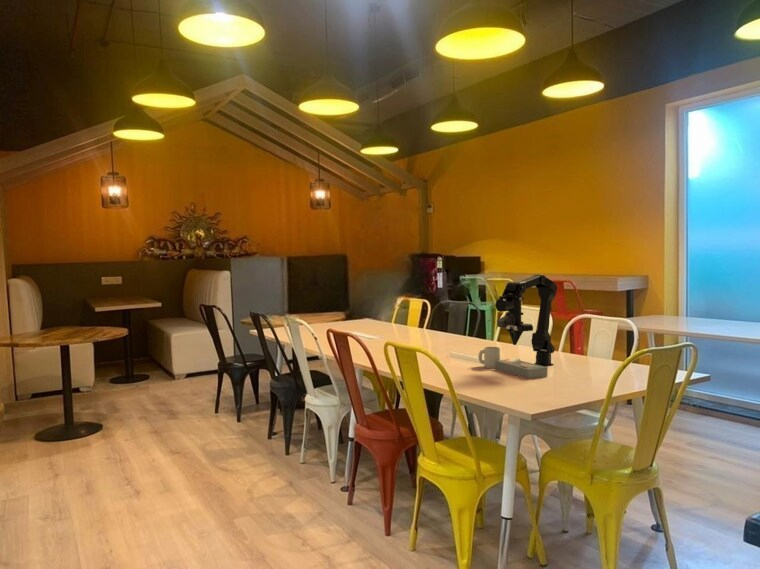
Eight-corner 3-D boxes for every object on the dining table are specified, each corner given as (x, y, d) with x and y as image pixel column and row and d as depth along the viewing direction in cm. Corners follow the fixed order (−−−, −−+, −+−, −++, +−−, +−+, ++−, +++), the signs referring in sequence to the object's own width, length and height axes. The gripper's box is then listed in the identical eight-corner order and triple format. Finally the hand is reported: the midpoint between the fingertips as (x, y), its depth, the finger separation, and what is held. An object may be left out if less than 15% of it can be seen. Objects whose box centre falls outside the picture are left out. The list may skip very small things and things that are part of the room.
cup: (499, 368, 261) (499, 349, 261) (478, 367, 264) (477, 348, 263) (500, 365, 268) (500, 346, 268) (478, 364, 271) (478, 346, 270)
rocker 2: (531, 367, 249) (532, 364, 249) (537, 369, 245) (538, 366, 245) (521, 365, 246) (521, 362, 246) (527, 367, 242) (527, 364, 243)
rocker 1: (514, 359, 260) (514, 357, 259) (520, 361, 256) (519, 358, 256) (504, 364, 257) (503, 361, 257) (510, 365, 254) (509, 363, 253)
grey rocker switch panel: (513, 367, 264) (513, 358, 264) (547, 376, 243) (547, 367, 243) (495, 369, 260) (495, 360, 259) (528, 379, 239) (528, 369, 239)
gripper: (487, 309, 258) (487, 343, 259) (512, 313, 241) (512, 349, 242) (507, 308, 262) (507, 341, 263) (533, 311, 245) (533, 347, 246)
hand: (514, 344), depth 253 cm, fingers closed
